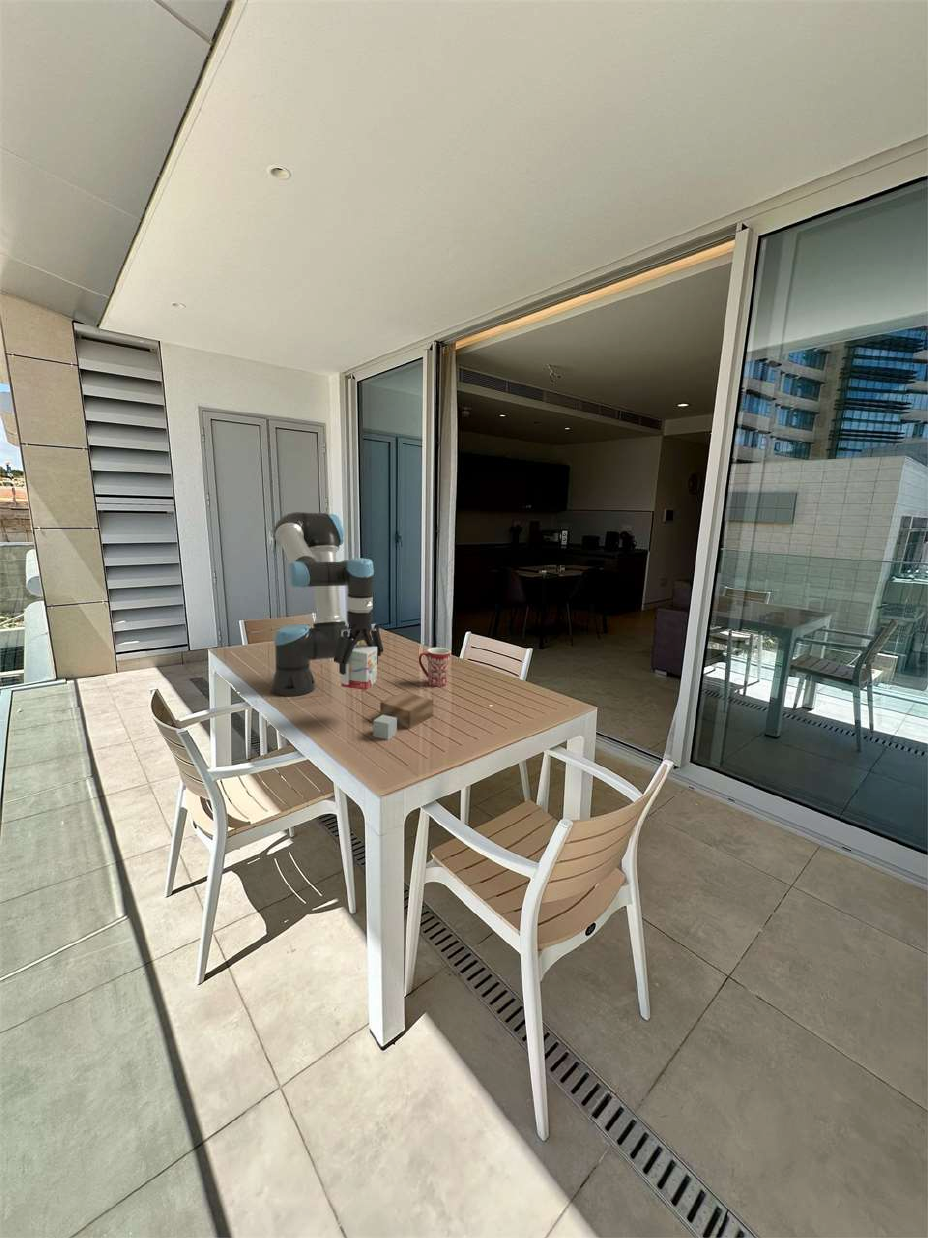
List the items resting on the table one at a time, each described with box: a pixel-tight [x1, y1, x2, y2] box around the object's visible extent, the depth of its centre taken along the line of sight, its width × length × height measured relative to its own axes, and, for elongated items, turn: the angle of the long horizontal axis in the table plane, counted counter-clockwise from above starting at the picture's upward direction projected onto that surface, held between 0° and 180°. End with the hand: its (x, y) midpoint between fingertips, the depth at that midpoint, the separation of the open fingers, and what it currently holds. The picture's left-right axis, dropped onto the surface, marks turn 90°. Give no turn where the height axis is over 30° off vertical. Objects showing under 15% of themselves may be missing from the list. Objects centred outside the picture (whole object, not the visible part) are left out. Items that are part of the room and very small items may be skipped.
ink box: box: [340, 643, 378, 691], centre depth 155 cm, size 9×9×12 cm
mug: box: [418, 647, 451, 688], centre depth 194 cm, size 13×9×14 cm
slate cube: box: [372, 715, 398, 741], centre depth 147 cm, size 5×5×5 cm
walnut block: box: [379, 691, 434, 729], centre depth 160 cm, size 12×12×6 cm
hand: (359, 679), depth 156 cm, fingers closed on ink box, 11 cm apart
